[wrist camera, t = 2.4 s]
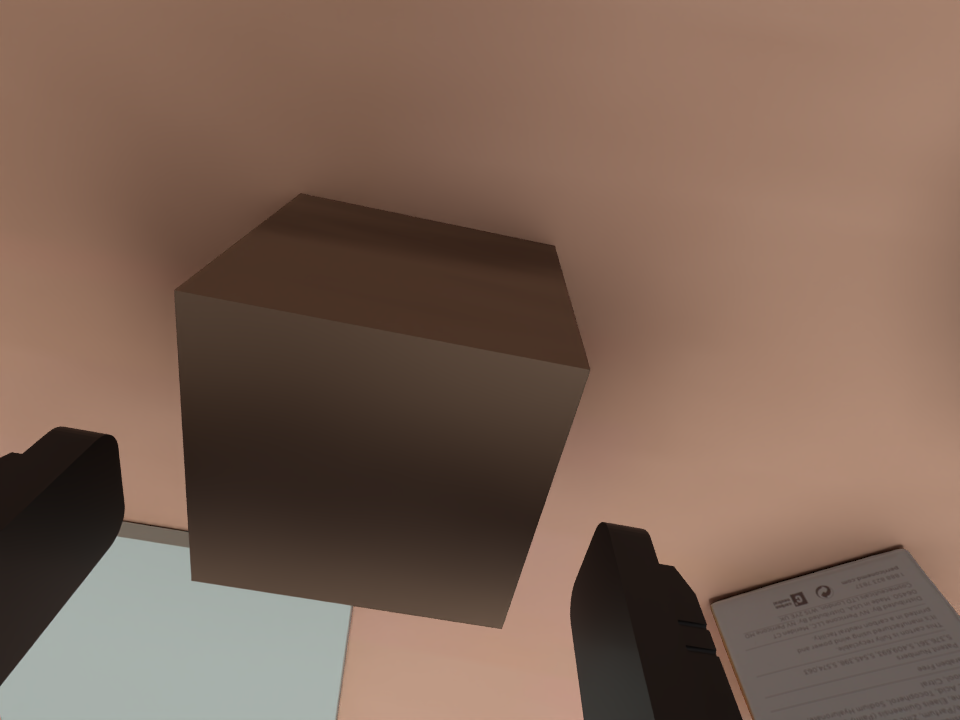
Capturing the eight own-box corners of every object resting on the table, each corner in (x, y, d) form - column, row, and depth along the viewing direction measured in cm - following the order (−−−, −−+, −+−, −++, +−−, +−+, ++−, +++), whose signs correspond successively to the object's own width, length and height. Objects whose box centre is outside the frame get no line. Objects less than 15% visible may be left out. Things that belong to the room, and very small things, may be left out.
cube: (301, 192, 13) (174, 290, 8) (554, 244, 14) (590, 370, 8) (290, 405, 16) (191, 580, 11) (500, 443, 17) (501, 629, 11)
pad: (-58, 492, 18) (-74, 505, 17) (359, 559, 19) (355, 574, 18) (19, 724, 24) (8, 740, 24) (330, 766, 25) (326, 782, 24)
